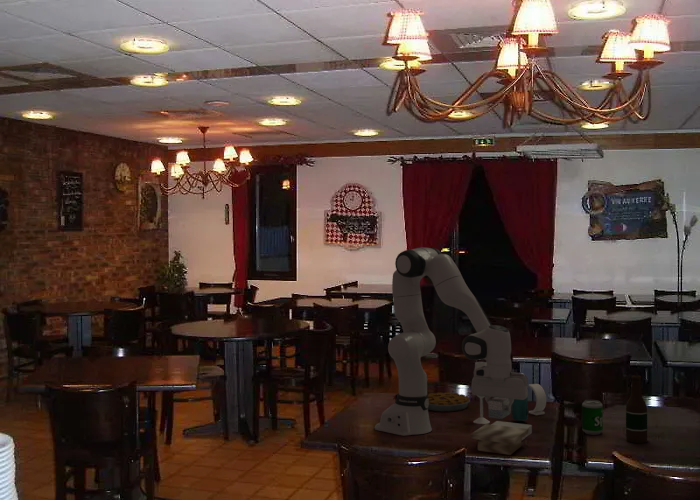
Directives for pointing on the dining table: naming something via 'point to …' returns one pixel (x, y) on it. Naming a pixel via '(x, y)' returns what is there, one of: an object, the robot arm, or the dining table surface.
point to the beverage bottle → (520, 409)
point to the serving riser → (499, 438)
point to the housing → (498, 408)
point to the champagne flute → (481, 400)
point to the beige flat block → (515, 426)
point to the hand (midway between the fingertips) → (499, 409)
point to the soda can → (592, 417)
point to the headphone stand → (538, 399)
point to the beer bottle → (636, 414)
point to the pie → (447, 401)
